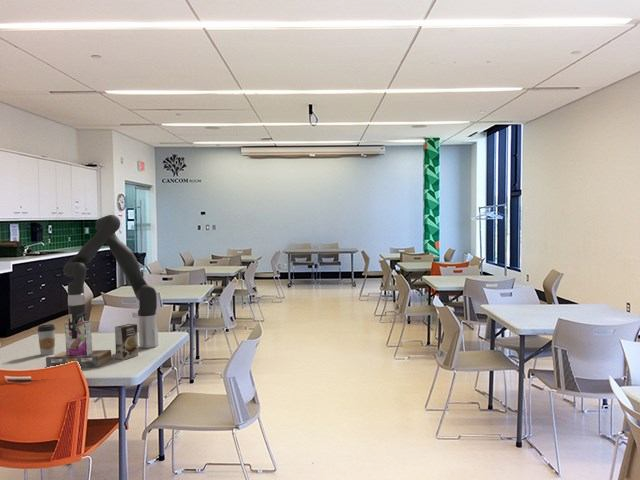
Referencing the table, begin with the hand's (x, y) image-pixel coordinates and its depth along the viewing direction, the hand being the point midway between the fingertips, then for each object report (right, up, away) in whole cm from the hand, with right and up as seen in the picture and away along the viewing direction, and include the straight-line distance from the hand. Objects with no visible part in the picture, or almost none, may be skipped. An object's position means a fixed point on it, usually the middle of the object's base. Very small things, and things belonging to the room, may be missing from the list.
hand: (78, 336), depth 259 cm
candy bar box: (0, -9, +1) cm, 9 cm away
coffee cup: (-26, -13, +22) cm, 37 cm away
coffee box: (+20, -12, +10) cm, 26 cm away
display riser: (0, -13, +2) cm, 13 cm away
